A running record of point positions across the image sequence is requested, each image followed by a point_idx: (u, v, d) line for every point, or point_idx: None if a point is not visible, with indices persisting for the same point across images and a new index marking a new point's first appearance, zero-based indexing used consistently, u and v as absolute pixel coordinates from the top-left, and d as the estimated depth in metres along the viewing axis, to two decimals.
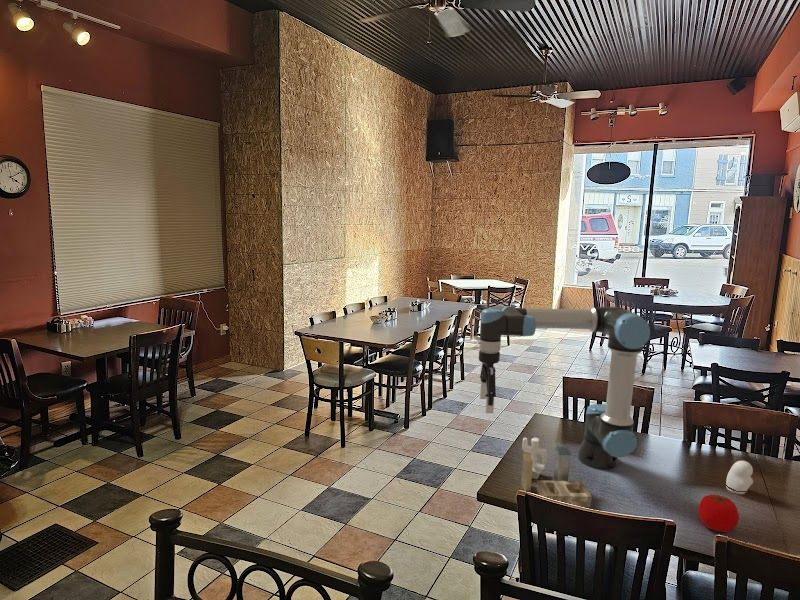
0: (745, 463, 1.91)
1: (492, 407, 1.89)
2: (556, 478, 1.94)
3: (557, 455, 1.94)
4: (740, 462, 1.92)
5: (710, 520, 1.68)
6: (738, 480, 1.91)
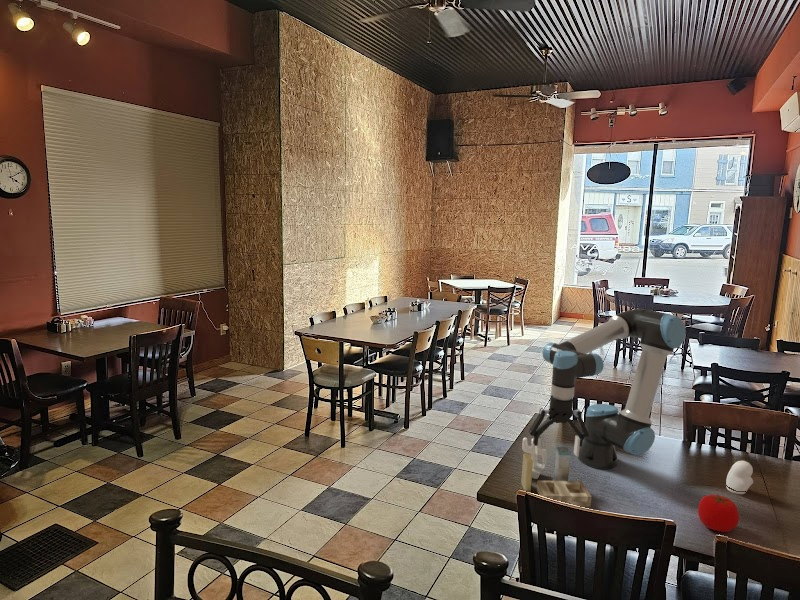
0: (745, 463, 1.91)
1: (537, 448, 1.82)
2: (556, 478, 1.94)
3: (557, 455, 1.94)
4: (740, 462, 1.92)
5: (710, 520, 1.68)
6: (738, 480, 1.91)
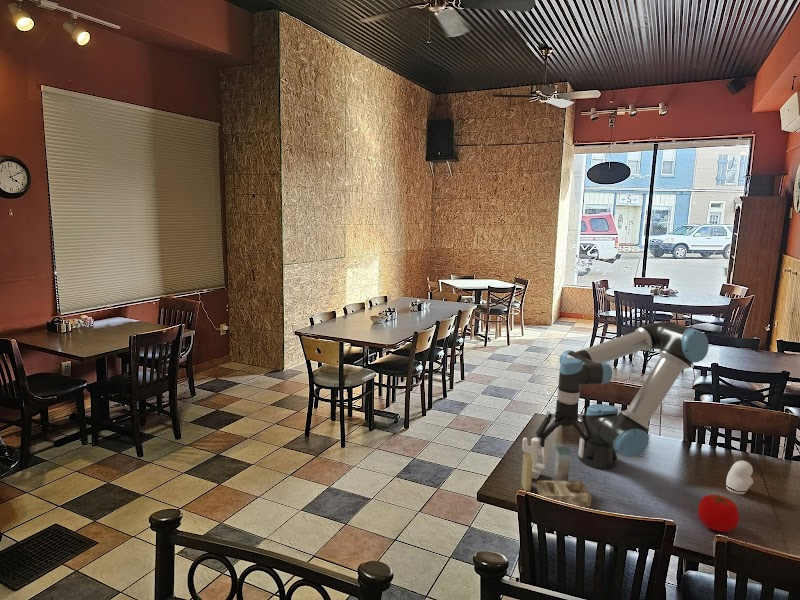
0: (745, 463, 1.91)
1: (543, 450, 1.92)
2: (556, 478, 1.94)
3: (557, 455, 1.94)
4: (740, 462, 1.92)
5: (710, 520, 1.68)
6: (738, 480, 1.91)
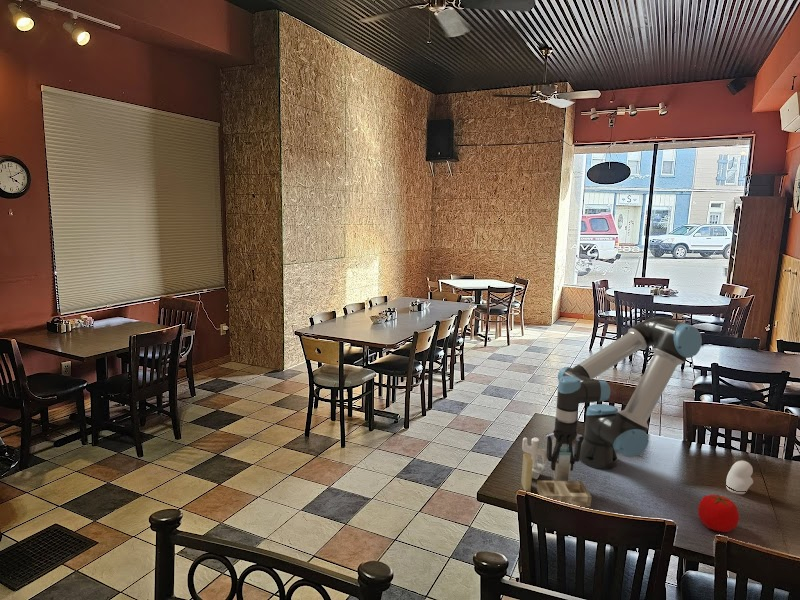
0: (745, 463, 1.91)
1: (554, 473, 1.94)
2: None
3: None
4: (740, 462, 1.92)
5: (710, 520, 1.68)
6: (738, 480, 1.91)
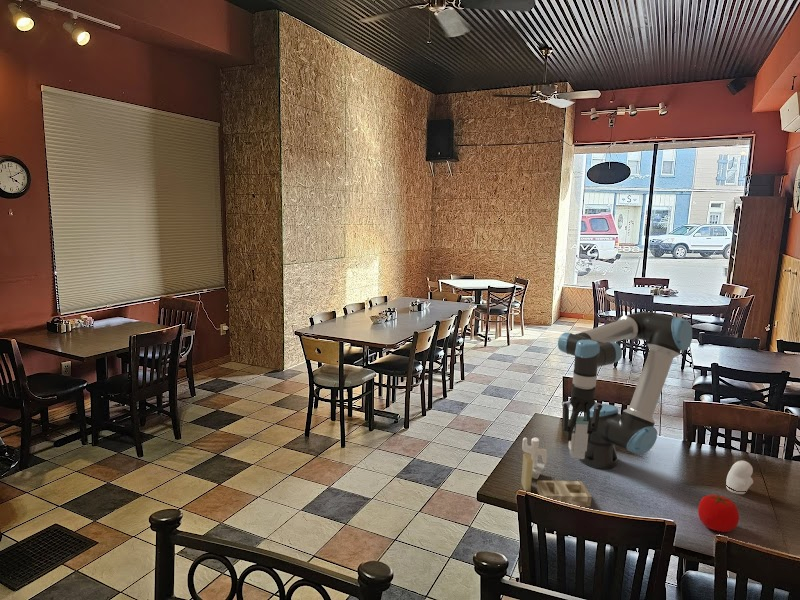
0: (745, 463, 1.91)
1: (570, 444, 1.82)
2: None
3: None
4: (740, 462, 1.92)
5: (710, 520, 1.68)
6: (738, 480, 1.91)
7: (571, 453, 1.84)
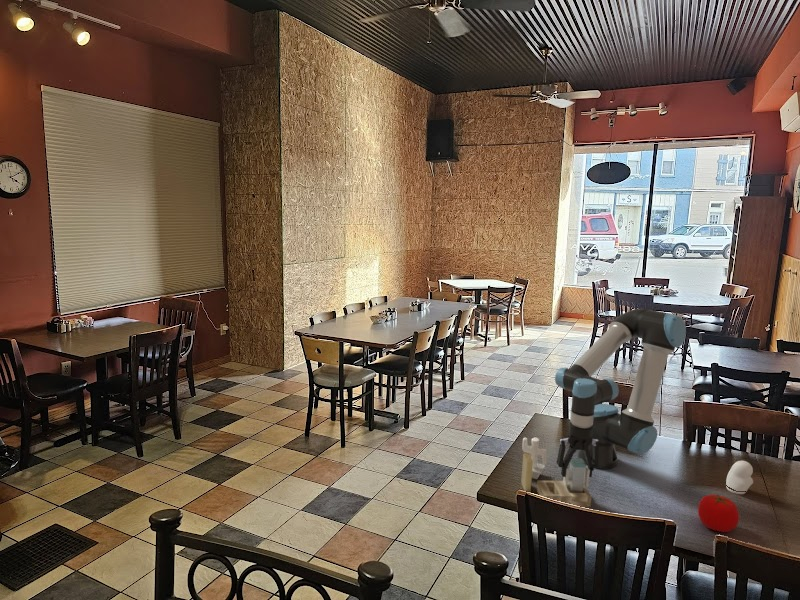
0: (745, 463, 1.91)
1: (565, 480, 1.84)
2: (570, 491, 1.85)
3: (571, 467, 1.85)
4: (740, 462, 1.92)
5: (710, 520, 1.68)
6: (738, 480, 1.91)
7: None
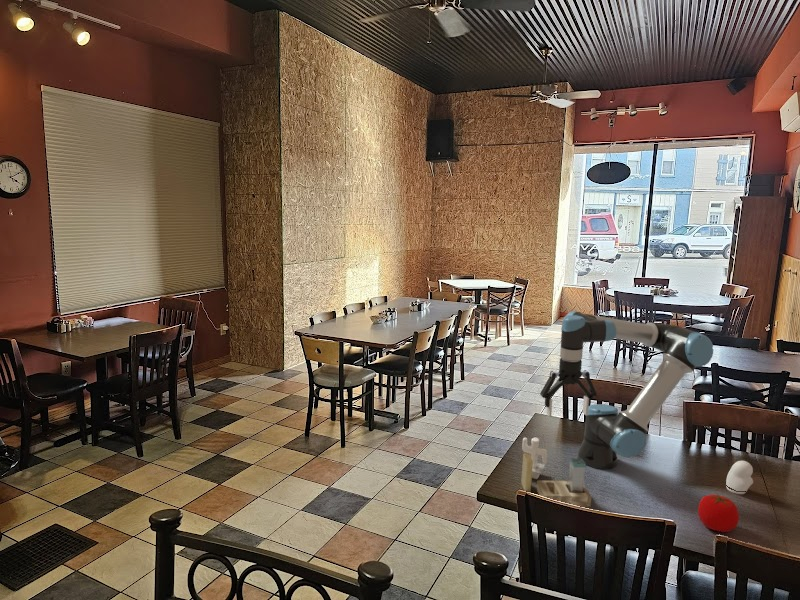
0: (745, 463, 1.91)
1: (549, 410, 1.91)
2: (570, 491, 1.85)
3: (571, 467, 1.85)
4: (740, 462, 1.92)
5: (710, 520, 1.68)
6: (738, 480, 1.91)
7: None
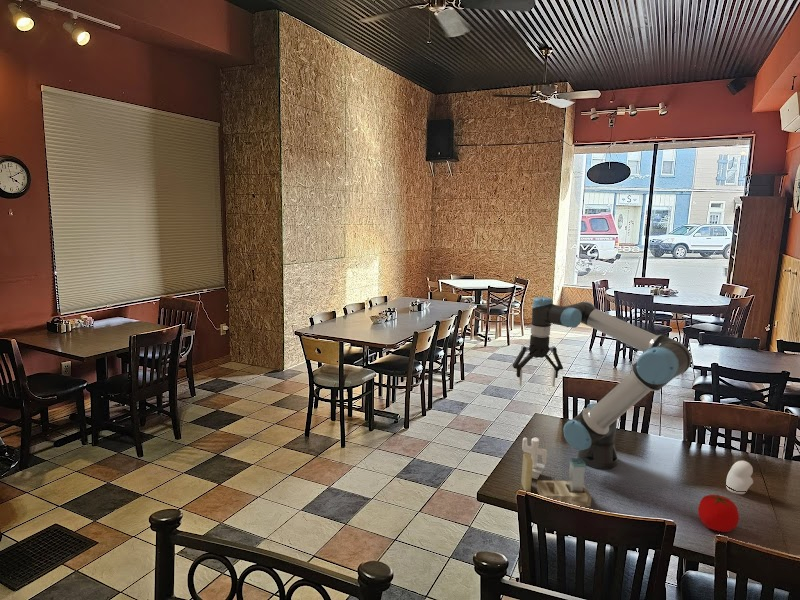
0: (745, 463, 1.91)
1: (519, 380, 2.16)
2: (570, 491, 1.85)
3: (571, 467, 1.85)
4: (740, 462, 1.92)
5: (710, 520, 1.68)
6: (738, 480, 1.91)
7: None
